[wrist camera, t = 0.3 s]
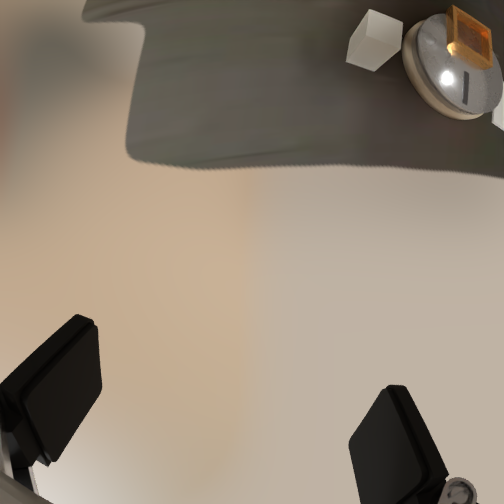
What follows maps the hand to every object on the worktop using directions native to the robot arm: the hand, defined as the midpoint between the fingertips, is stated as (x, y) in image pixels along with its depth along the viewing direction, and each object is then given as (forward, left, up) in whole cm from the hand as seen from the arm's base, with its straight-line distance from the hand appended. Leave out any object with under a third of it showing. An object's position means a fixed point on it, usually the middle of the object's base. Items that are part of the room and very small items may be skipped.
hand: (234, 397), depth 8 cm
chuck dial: (-29, +22, -28) cm, 46 cm away
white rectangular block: (-25, +8, -30) cm, 40 cm away
